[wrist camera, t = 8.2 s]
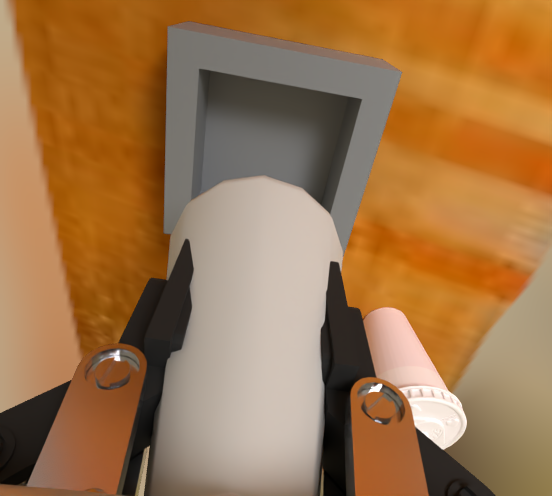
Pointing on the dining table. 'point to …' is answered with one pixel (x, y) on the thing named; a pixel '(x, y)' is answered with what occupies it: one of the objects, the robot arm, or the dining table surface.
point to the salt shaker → (247, 346)
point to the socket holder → (271, 117)
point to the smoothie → (413, 376)
